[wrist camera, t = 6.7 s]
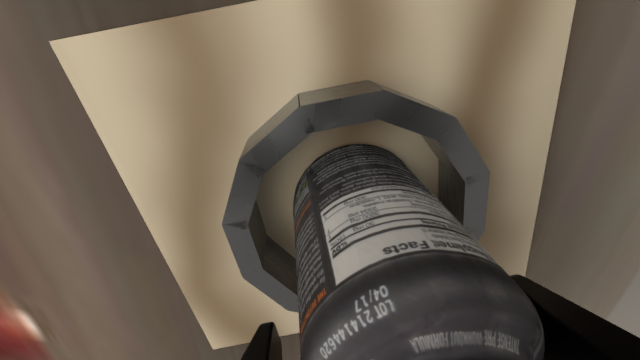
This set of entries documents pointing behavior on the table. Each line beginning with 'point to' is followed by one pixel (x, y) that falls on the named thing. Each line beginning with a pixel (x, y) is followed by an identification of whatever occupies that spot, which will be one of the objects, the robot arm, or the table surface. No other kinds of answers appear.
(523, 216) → the ring holder
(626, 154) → the table surface
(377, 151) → the pill bottle
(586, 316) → the robot arm
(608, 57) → the table surface
